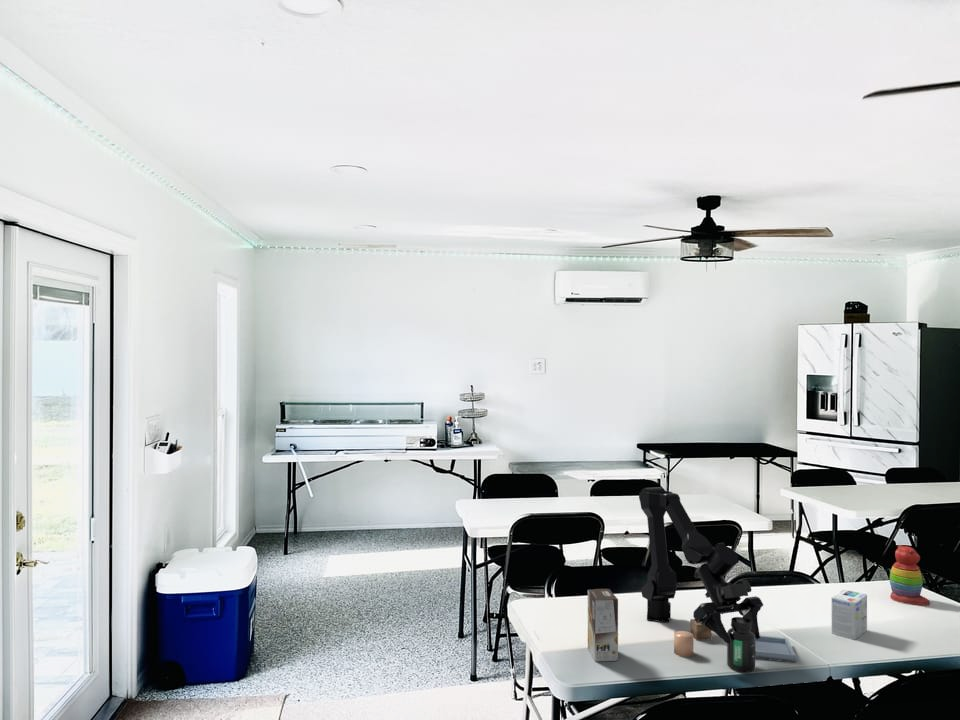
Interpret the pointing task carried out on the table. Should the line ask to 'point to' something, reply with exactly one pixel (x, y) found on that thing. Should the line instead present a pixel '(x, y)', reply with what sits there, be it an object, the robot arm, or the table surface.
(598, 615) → the coffee box
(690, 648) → the cylinder block
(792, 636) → the table surface
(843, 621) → the light bulb box
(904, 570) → the stacking bear
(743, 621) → the supplement bottle
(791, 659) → the tray
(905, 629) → the table surface
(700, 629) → the walnut block
